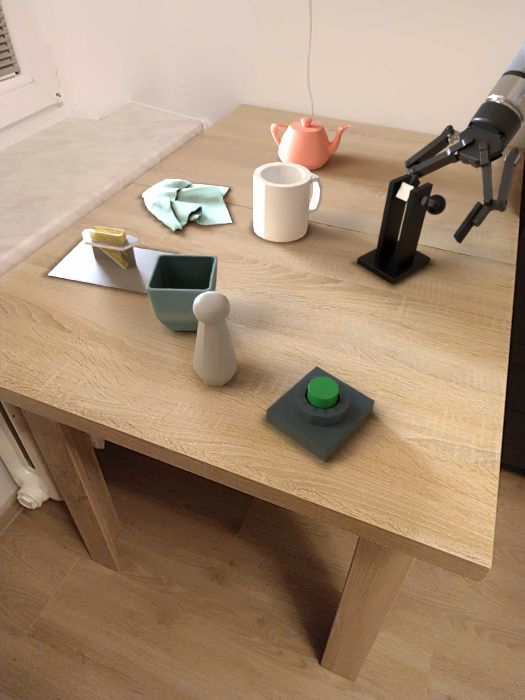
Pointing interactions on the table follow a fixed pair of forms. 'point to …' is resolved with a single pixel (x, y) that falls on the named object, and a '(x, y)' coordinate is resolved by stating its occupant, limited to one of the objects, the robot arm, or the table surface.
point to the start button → (323, 392)
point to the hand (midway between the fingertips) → (424, 224)
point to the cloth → (187, 203)
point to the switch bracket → (394, 255)
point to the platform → (108, 260)
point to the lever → (435, 201)
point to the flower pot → (180, 288)
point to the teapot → (306, 143)
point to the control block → (319, 416)
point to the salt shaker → (213, 340)
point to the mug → (284, 200)
